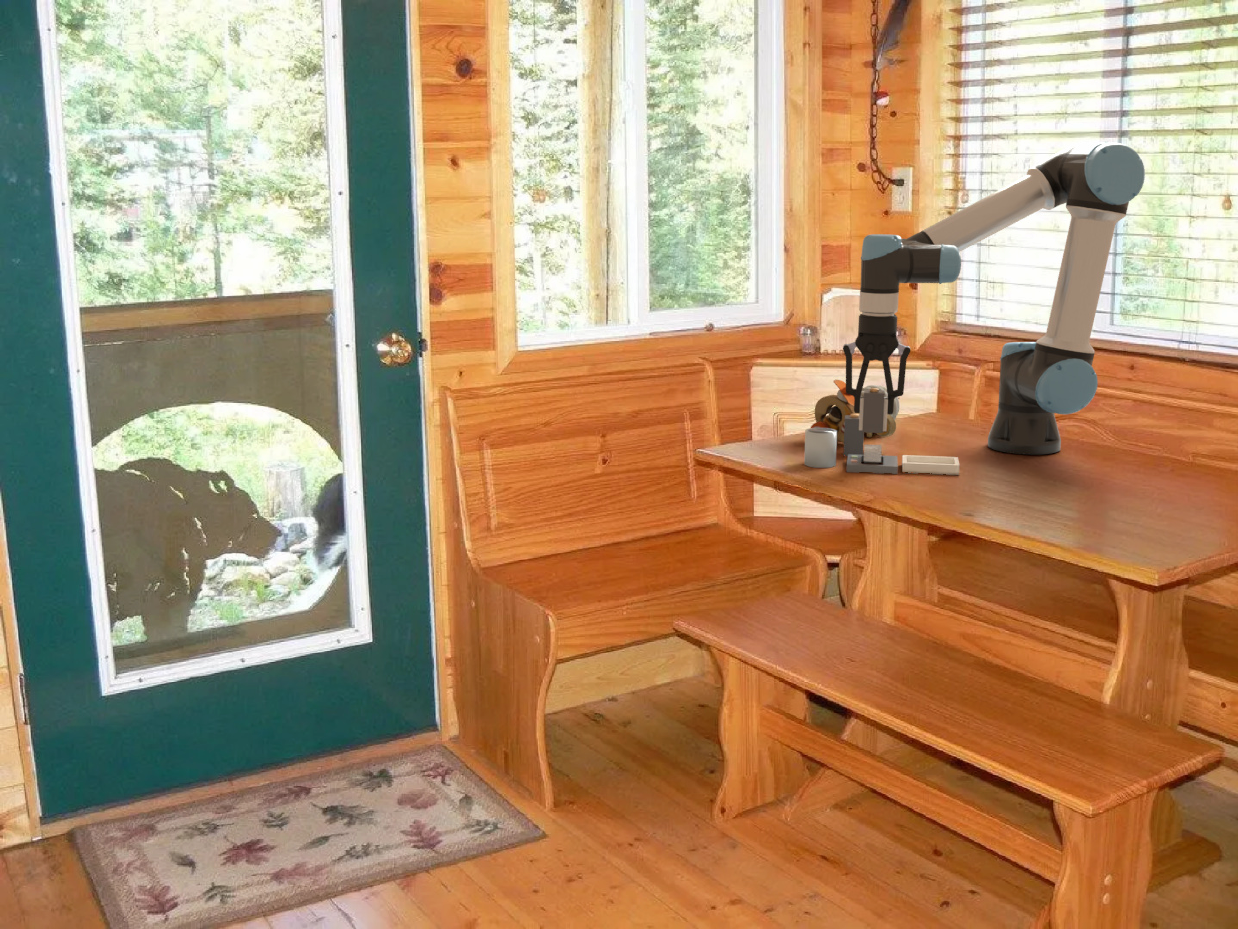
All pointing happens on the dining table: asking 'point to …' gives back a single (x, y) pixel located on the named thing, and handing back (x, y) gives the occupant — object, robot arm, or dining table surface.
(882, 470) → the base
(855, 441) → the block
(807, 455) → the cup
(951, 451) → the dining table surface
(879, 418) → the cell
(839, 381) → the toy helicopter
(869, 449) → the grey rectangular block
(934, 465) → the trough
